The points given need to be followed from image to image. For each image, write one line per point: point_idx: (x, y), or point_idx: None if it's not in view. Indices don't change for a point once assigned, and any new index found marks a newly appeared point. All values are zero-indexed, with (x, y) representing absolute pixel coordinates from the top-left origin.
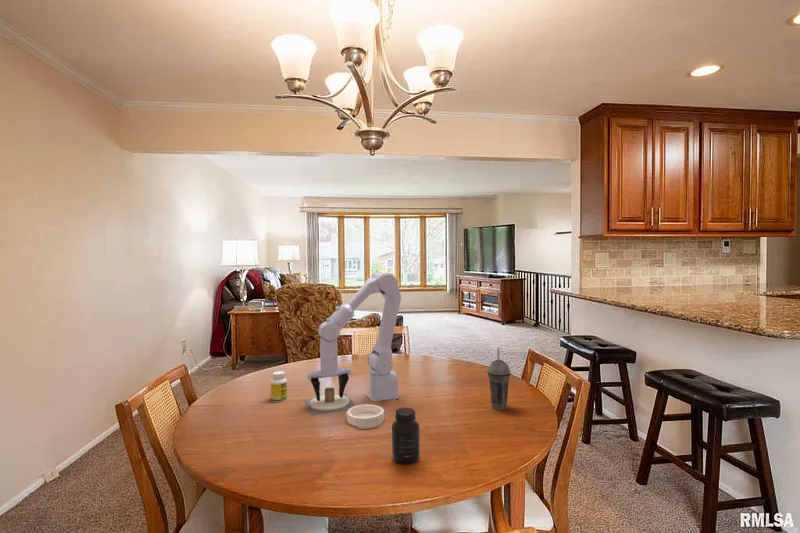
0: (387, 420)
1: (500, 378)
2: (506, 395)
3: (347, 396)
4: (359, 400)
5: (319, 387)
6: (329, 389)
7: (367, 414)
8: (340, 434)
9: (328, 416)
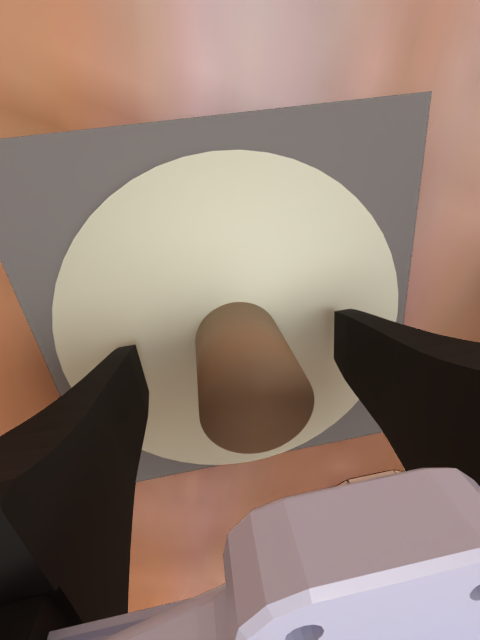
0: None
1: None
2: None
3: (414, 194)
4: (462, 273)
5: (128, 546)
6: (254, 426)
7: None
8: None
9: (206, 476)
